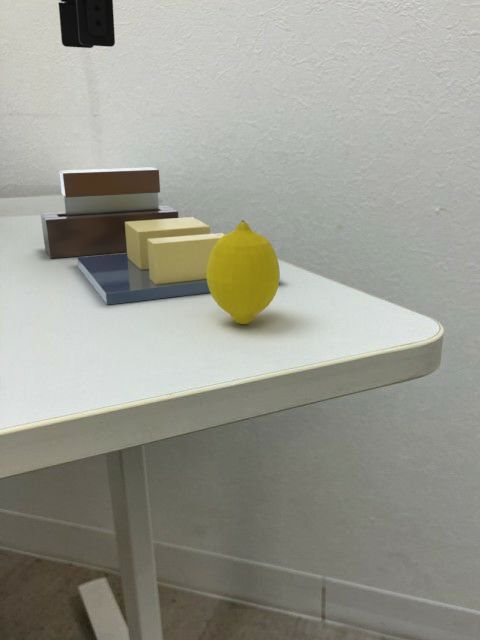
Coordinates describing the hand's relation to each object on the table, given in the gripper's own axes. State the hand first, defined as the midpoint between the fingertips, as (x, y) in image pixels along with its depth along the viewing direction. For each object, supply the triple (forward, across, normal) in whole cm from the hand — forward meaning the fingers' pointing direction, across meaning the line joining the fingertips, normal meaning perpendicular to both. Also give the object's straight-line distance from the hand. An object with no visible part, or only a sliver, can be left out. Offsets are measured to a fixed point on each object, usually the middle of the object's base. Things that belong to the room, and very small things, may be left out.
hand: (87, 46), depth 65 cm
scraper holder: (+20, +1, +1) cm, 20 cm away
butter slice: (+19, +19, +4) cm, 27 cm away
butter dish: (+20, +14, +4) cm, 25 cm away
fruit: (+20, +29, +5) cm, 36 cm away
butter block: (+19, +12, +4) cm, 23 cm away
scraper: (+20, +1, +1) cm, 20 cm away
